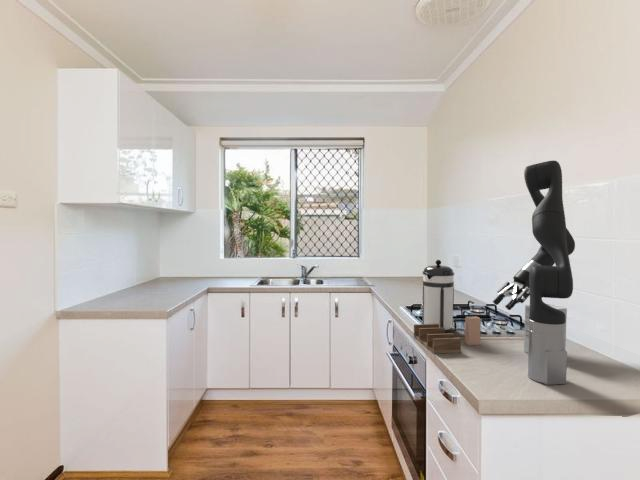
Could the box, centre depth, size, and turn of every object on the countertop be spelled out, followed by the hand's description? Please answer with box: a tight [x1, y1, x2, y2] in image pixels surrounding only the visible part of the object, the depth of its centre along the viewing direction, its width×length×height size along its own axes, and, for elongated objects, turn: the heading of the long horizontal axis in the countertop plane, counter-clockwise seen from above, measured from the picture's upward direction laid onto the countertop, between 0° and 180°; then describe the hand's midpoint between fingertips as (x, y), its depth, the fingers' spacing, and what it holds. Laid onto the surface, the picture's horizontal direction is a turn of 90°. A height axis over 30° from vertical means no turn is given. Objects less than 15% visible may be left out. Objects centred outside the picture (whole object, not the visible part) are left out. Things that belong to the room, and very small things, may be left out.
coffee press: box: [421, 259, 456, 331], centre depth 169 cm, size 17×16×30 cm
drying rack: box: [413, 323, 462, 354], centre depth 150 cm, size 20×10×5 cm, turn 6°
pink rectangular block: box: [464, 315, 482, 346], centre depth 150 cm, size 3×4×10 cm, turn 97°
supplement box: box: [523, 303, 568, 354], centre depth 138 cm, size 10×9×17 cm
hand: (500, 305), depth 151 cm, fingers open, 8 cm apart
